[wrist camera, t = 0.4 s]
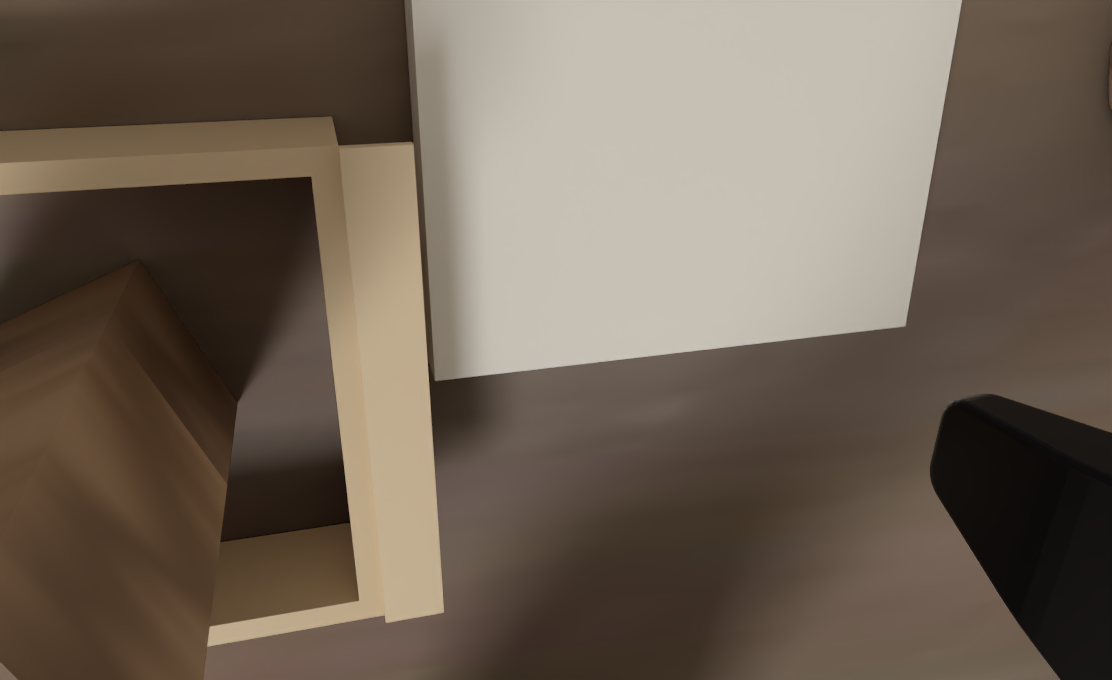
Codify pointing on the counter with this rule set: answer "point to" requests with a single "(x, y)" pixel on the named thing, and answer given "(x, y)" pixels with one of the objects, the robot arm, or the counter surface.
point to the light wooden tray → (356, 347)
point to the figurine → (1110, 78)
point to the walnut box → (109, 486)
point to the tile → (668, 172)
